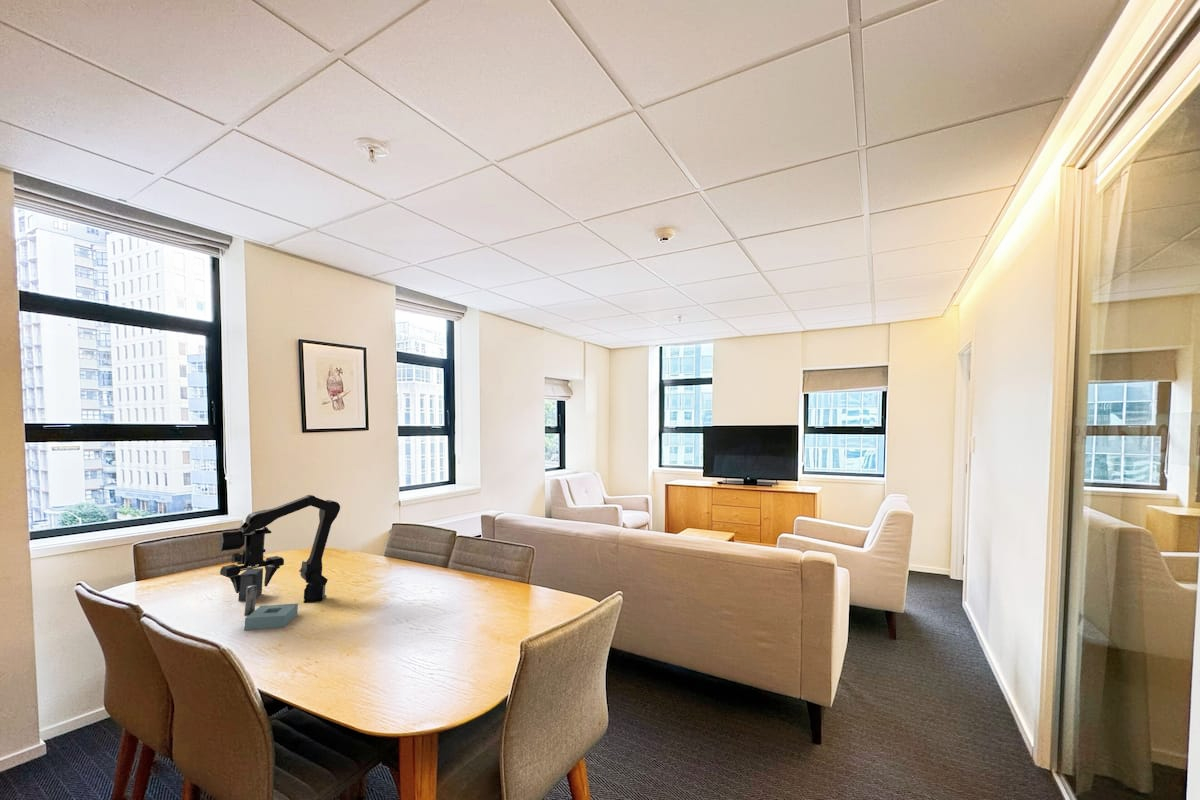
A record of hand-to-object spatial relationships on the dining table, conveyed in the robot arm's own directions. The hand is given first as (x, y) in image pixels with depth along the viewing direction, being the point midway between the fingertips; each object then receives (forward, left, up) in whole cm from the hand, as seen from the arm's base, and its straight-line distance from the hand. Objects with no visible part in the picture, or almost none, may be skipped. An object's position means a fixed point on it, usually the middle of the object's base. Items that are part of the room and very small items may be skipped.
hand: (251, 589), depth 174 cm
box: (+8, -20, -9) cm, 23 cm away
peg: (0, 0, -9) cm, 9 cm away
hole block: (-11, +10, -9) cm, 17 cm away
